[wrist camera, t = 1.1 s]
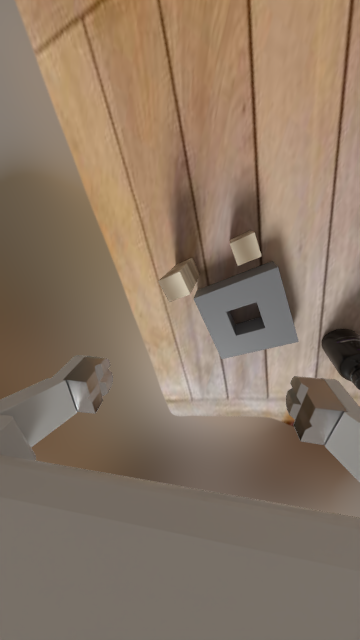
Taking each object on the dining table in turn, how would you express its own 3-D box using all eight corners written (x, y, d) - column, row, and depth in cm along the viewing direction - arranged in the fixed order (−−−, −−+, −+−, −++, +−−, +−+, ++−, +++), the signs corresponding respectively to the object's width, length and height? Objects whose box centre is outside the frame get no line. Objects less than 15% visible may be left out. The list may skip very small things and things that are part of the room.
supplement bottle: (343, 321, 39) (384, 359, 29) (365, 341, 40) (413, 384, 30) (313, 341, 43) (339, 381, 33) (333, 359, 44) (366, 403, 33)
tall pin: (192, 257, 40) (179, 271, 30) (199, 274, 41) (190, 294, 31) (175, 265, 42) (158, 281, 31) (183, 281, 43) (169, 302, 33)
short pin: (250, 229, 35) (254, 232, 30) (257, 250, 37) (261, 256, 32) (229, 239, 37) (229, 243, 32) (236, 259, 38) (237, 266, 33)
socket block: (272, 261, 37) (278, 267, 33) (291, 329, 43) (298, 341, 38) (197, 290, 43) (193, 298, 39) (222, 346, 49) (221, 359, 44)
